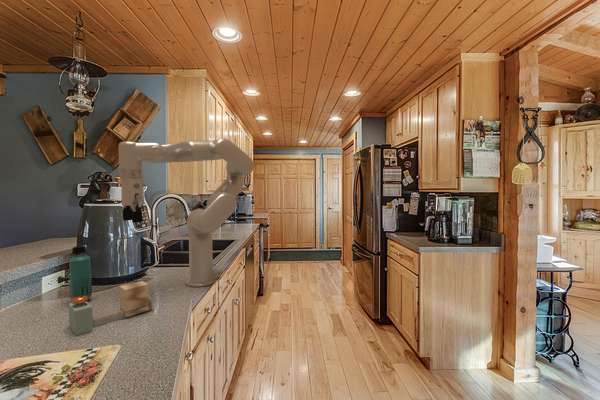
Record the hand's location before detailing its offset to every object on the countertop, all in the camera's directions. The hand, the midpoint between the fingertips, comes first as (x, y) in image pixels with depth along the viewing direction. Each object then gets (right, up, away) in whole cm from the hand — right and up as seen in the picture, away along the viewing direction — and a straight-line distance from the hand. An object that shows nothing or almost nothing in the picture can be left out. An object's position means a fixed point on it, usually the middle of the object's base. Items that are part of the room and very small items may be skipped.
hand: (132, 221), depth 113 cm
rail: (+6, -29, -17) cm, 34 cm away
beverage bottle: (-16, -29, -4) cm, 33 cm away
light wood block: (+9, -29, -14) cm, 33 cm away
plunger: (-1, -27, -25) cm, 37 cm away
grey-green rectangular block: (-1, -30, -25) cm, 39 cm away
